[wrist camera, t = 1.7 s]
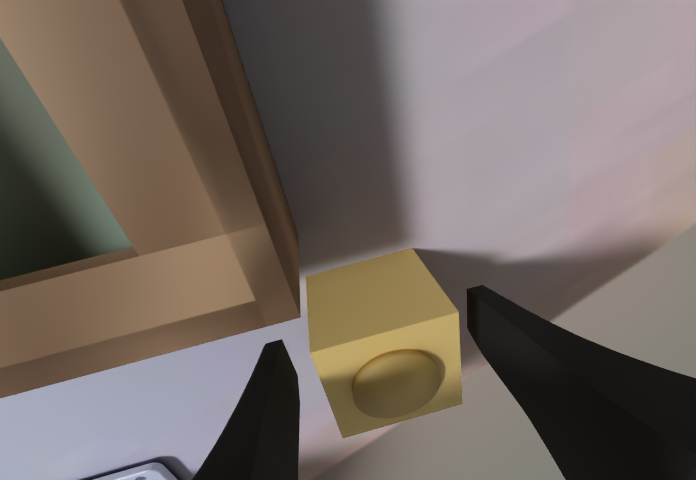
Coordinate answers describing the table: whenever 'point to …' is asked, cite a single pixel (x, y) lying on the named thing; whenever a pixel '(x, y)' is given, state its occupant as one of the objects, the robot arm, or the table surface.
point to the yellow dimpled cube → (383, 341)
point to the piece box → (131, 189)
